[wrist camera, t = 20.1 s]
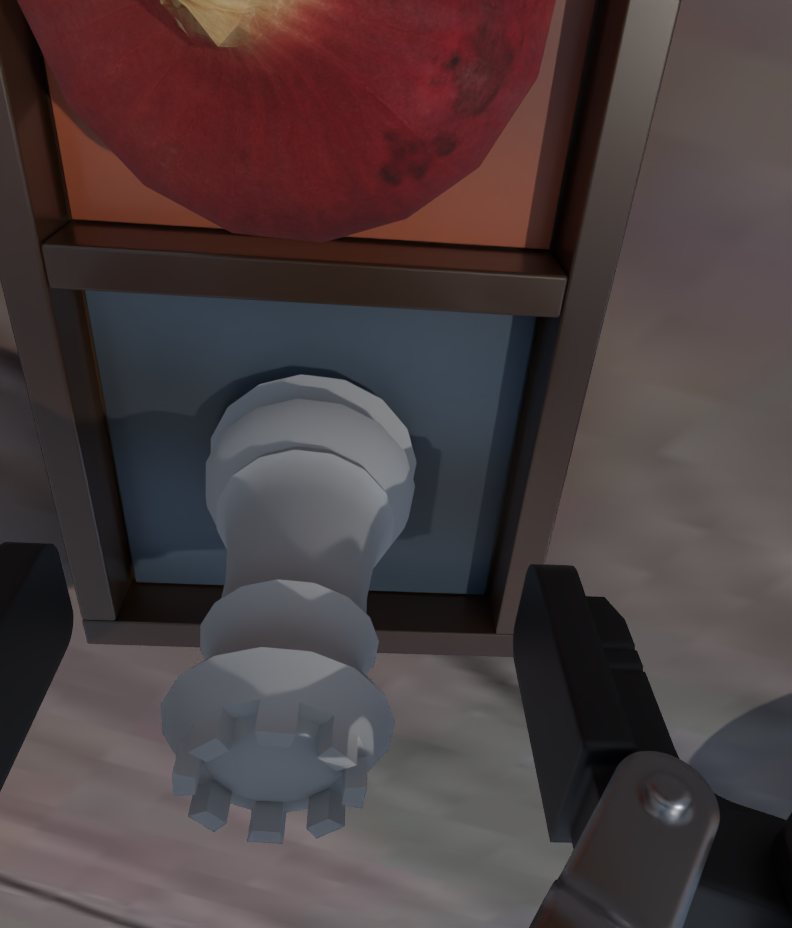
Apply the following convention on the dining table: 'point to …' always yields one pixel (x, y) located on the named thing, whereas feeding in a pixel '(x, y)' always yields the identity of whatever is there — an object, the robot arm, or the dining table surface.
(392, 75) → the pomegranate
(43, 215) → the tray
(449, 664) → the dining table surface
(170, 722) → the rook chess piece
